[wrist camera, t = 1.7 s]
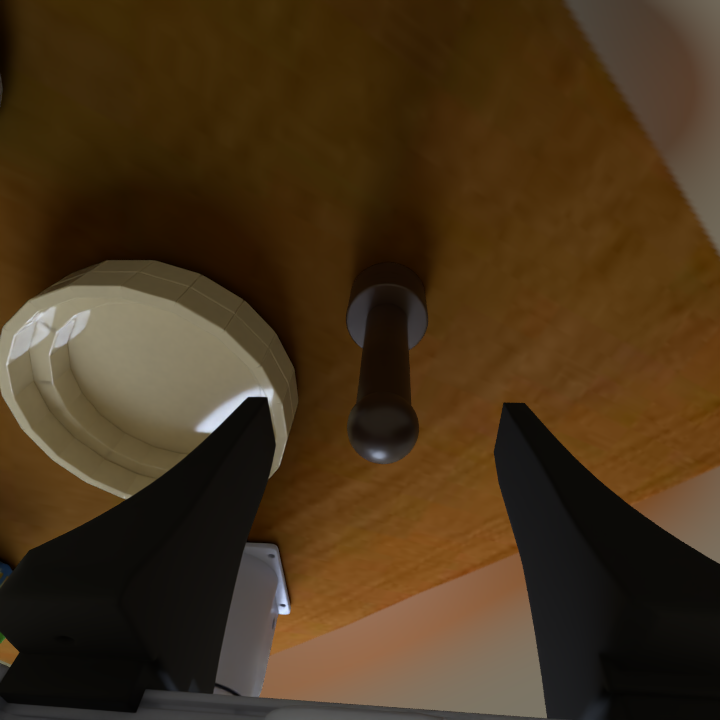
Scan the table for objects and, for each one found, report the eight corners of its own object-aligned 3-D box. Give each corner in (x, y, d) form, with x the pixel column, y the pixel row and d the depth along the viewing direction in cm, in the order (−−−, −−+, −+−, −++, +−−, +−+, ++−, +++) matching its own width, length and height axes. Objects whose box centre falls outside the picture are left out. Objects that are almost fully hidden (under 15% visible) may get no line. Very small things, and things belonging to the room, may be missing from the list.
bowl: (309, 468, 28) (299, 514, 25) (99, 461, 29) (66, 504, 26) (283, 255, 20) (264, 286, 18) (-3, 255, 21) (-66, 284, 19)
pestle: (423, 330, 22) (440, 497, 13) (351, 329, 22) (324, 492, 14) (427, 262, 20) (450, 405, 11) (349, 261, 20) (314, 402, 12)
